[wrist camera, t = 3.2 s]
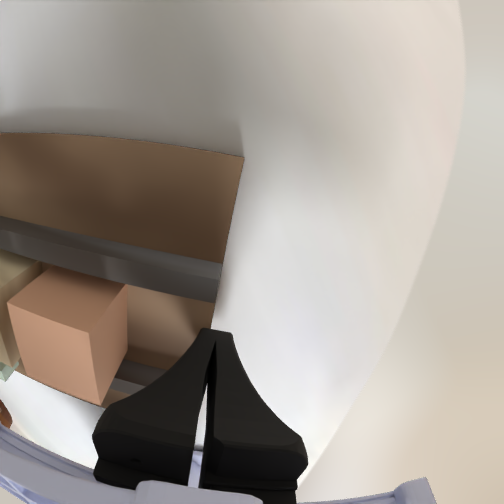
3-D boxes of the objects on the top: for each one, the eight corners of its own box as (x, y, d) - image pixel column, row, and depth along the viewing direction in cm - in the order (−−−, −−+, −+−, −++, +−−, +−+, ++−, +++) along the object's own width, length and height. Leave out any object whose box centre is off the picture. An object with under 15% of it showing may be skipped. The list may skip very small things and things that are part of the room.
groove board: (195, 419, 17) (190, 449, 15) (-50, 321, 15) (-65, 334, 13) (244, 157, 12) (243, 160, 9) (-71, 137, 10) (-93, 141, 7)
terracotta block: (127, 349, 14) (100, 405, 10) (63, 329, 13) (27, 375, 10) (127, 281, 12) (88, 333, 9) (56, 262, 12) (6, 302, 8)
